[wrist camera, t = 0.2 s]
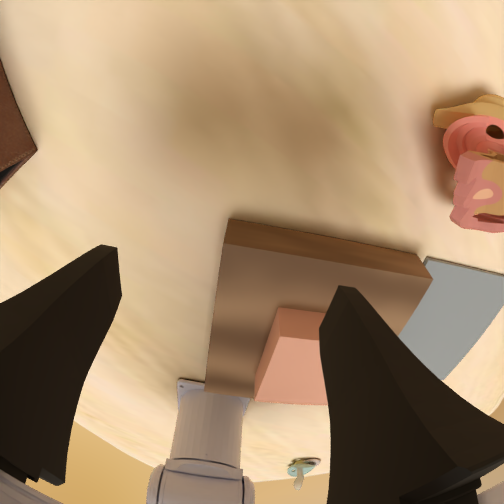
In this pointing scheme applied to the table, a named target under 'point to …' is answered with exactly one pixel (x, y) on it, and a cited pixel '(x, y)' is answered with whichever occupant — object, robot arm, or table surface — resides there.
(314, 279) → the step
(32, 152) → the letter holder
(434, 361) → the mat
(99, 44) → the table surface
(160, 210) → the table surface
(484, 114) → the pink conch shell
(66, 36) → the table surface
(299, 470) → the pacifier
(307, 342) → the tile
